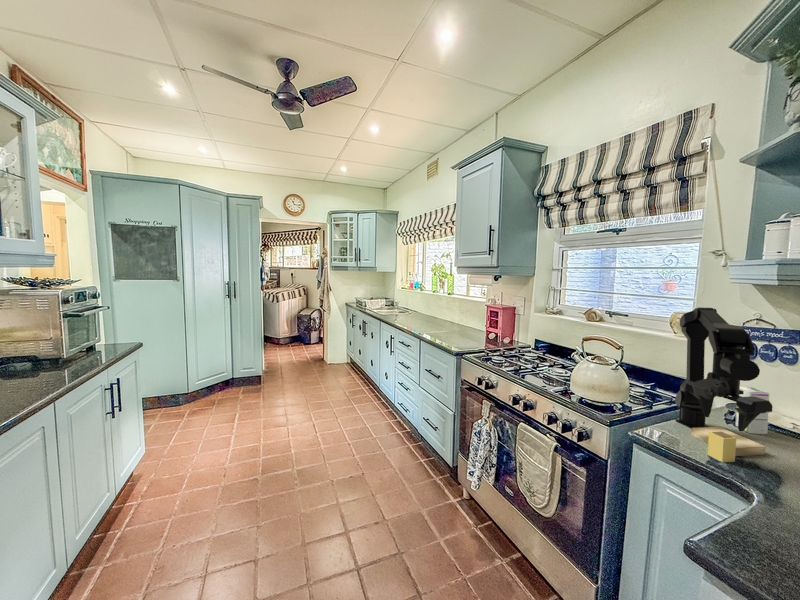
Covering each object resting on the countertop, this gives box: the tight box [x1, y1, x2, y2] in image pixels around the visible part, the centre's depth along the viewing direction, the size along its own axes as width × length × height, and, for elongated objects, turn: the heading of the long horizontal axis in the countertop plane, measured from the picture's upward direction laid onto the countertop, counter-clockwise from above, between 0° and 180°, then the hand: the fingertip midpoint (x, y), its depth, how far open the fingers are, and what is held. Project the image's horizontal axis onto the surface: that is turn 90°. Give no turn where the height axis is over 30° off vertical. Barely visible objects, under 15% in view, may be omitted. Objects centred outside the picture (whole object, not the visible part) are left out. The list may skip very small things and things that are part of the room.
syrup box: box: [734, 386, 770, 435], centre depth 111 cm, size 6×6×14 cm
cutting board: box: [691, 426, 766, 457], centre depth 102 cm, size 13×10×2 cm
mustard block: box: [707, 432, 736, 463], centre depth 94 cm, size 4×4×7 cm
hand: (722, 423), depth 94 cm, fingers open, 9 cm apart
